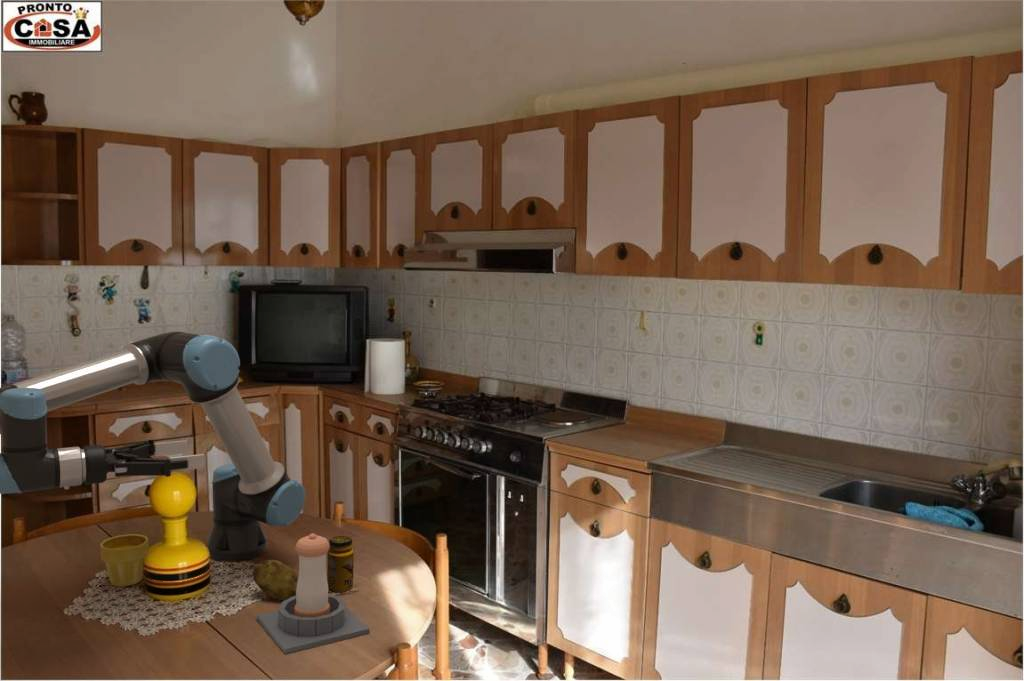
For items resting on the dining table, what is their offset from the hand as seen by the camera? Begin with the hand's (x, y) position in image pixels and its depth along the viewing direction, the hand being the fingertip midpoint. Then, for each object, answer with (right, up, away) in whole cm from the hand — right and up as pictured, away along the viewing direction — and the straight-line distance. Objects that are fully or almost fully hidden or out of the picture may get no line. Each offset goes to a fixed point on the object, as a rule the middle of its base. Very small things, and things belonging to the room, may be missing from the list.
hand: (195, 453), depth 178 cm
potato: (+13, -35, +16) cm, 41 cm away
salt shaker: (+24, -36, +2) cm, 43 cm away
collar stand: (+24, -37, +2) cm, 44 cm away
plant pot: (-25, -33, +22) cm, 47 cm away
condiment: (+25, -35, +22) cm, 48 cm away
